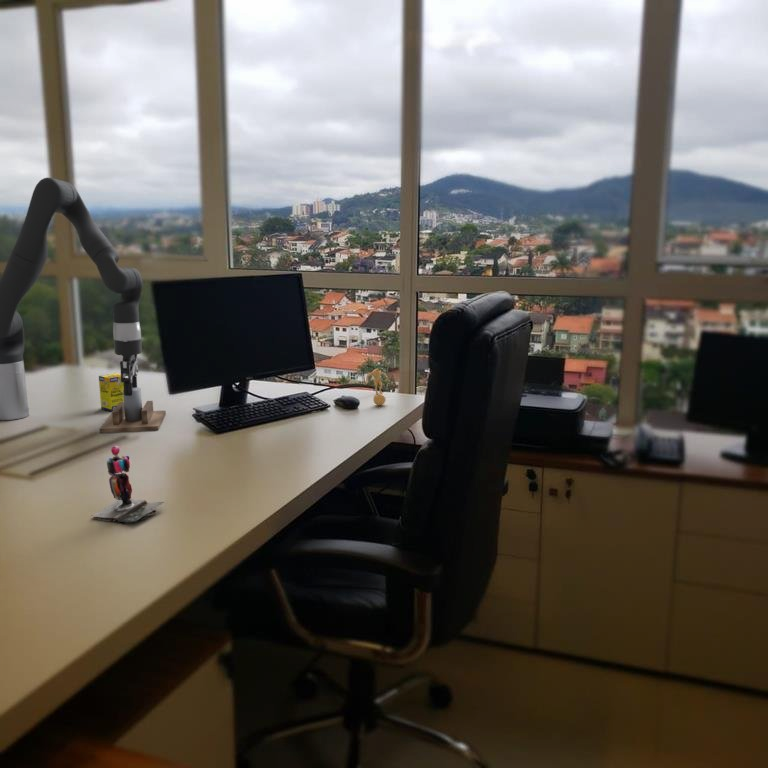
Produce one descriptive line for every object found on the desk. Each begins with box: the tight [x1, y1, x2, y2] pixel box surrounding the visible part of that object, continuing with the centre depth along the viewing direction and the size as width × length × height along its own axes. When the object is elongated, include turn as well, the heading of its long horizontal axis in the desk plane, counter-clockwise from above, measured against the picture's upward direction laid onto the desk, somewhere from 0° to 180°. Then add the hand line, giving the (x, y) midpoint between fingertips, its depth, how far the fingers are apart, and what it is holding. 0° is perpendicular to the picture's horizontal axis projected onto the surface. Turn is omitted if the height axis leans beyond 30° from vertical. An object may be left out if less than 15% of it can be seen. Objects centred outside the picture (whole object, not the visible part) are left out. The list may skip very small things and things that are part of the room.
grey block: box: [123, 387, 143, 421], centre depth 217 cm, size 5×5×9 cm
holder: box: [99, 400, 167, 434], centre depth 218 cm, size 16×18×5 cm
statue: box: [90, 445, 165, 525], centre depth 149 cm, size 11×9×15 cm
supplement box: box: [98, 372, 124, 413], centre depth 234 cm, size 6×6×11 cm
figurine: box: [365, 367, 391, 406], centre depth 239 cm, size 8×6×12 cm
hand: (130, 392), depth 216 cm, fingers open, 8 cm apart
